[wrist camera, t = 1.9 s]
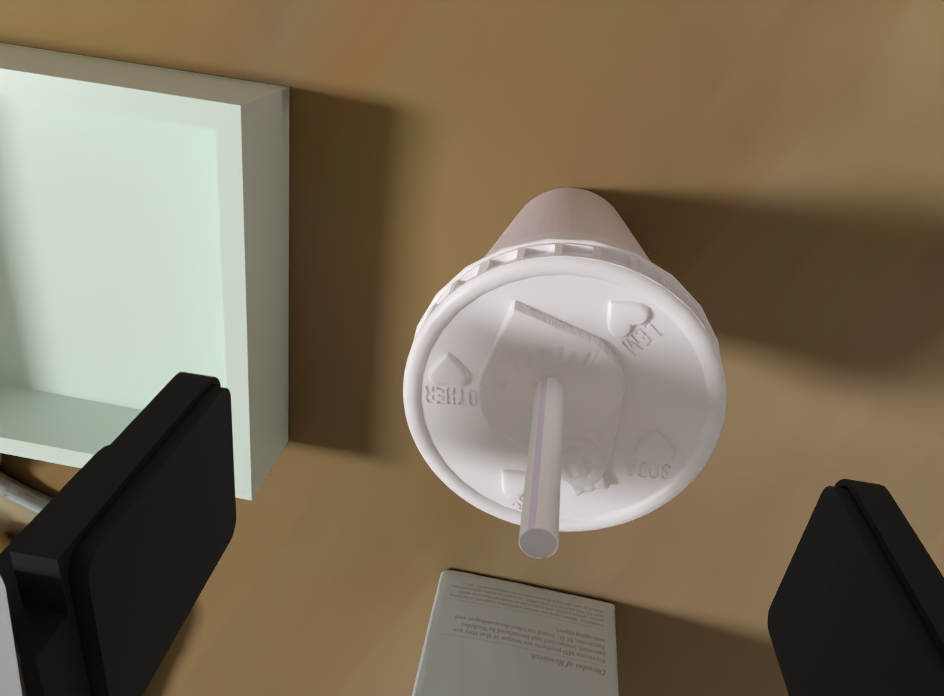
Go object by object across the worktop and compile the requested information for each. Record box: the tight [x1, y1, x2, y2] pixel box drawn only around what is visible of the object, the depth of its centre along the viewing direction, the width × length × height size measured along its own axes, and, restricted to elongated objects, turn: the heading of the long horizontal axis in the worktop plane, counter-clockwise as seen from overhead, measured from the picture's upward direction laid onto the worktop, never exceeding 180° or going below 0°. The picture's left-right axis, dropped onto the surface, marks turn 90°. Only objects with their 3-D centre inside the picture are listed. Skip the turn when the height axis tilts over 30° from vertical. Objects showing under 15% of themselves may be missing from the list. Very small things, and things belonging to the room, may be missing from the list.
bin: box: [0, 43, 289, 500], centre depth 23 cm, size 13×13×4 cm
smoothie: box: [403, 188, 727, 558], centre depth 16 cm, size 6×6×14 cm
